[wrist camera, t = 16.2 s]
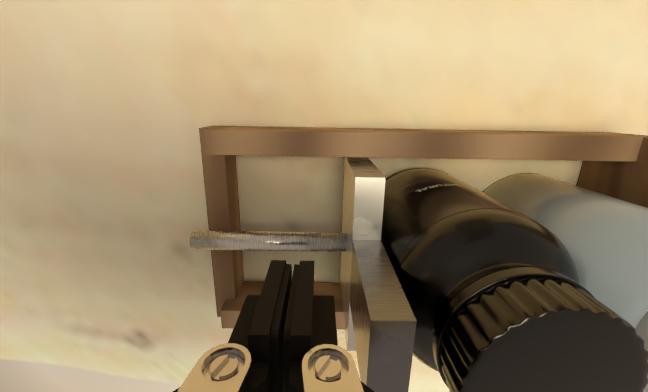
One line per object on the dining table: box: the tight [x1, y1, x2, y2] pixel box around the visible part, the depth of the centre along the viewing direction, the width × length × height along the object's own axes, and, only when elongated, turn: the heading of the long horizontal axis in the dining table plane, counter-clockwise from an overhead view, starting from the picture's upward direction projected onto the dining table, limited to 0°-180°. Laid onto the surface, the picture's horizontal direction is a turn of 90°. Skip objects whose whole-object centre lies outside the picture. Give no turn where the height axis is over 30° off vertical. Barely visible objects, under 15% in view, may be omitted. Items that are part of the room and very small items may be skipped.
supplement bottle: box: [381, 168, 648, 392], centre depth 13 cm, size 7×7×12 cm
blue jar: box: [483, 173, 648, 392], centre depth 14 cm, size 6×6×11 cm
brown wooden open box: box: [199, 126, 648, 329], centre depth 16 cm, size 23×11×6 cm, turn 89°
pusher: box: [190, 157, 417, 392], centre depth 14 cm, size 9×8×11 cm
